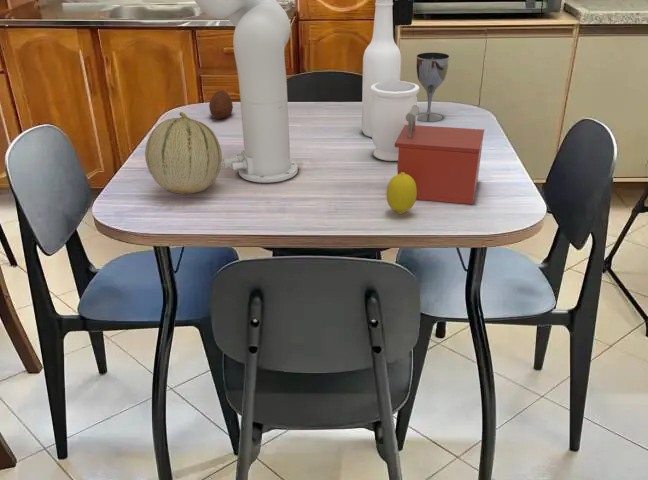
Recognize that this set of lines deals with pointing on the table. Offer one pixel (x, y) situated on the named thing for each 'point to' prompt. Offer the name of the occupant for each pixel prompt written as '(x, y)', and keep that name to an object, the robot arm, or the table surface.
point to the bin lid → (438, 136)
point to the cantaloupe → (183, 155)
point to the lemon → (401, 192)
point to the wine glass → (431, 78)
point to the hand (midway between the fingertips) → (403, 20)
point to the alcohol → (379, 58)
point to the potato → (220, 104)
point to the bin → (441, 173)
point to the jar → (390, 115)
